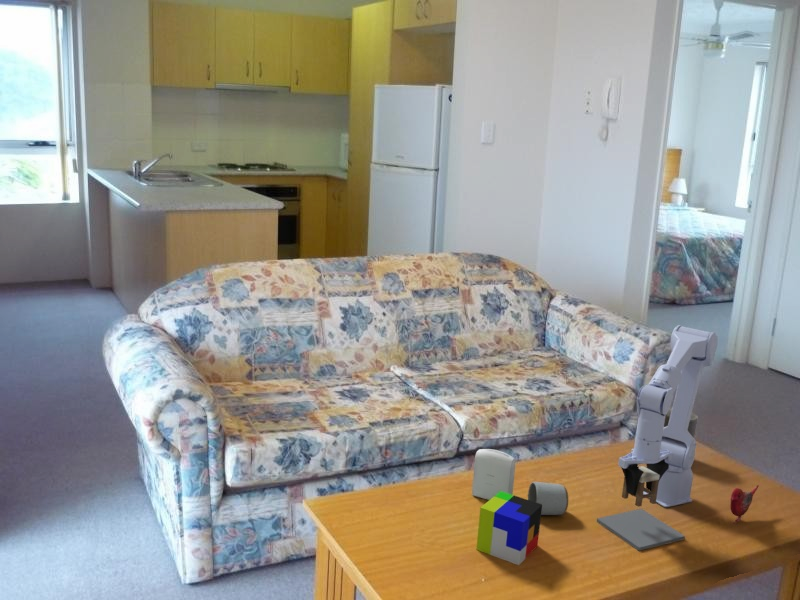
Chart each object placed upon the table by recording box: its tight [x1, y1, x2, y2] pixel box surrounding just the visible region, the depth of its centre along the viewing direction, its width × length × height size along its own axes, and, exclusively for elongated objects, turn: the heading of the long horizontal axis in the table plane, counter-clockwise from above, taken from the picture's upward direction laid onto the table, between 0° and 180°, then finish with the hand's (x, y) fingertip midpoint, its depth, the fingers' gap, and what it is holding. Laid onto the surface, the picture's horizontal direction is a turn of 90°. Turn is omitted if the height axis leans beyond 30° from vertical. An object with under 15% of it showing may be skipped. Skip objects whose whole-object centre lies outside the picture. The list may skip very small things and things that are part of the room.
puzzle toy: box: [475, 491, 542, 566], centre depth 180 cm, size 10×10×10 cm
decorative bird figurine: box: [729, 484, 759, 524], centre depth 200 cm, size 3×18×10 cm, turn 137°
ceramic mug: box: [527, 481, 569, 516], centre depth 198 cm, size 11×8×8 cm
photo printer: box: [471, 448, 516, 501], centre depth 202 cm, size 10×4×12 cm, turn 63°
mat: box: [596, 508, 686, 552], centre depth 192 cm, size 14×14×1 cm
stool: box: [621, 465, 660, 507], centre depth 192 cm, size 5×5×7 cm
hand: (640, 491), depth 192 cm, fingers closed on stool, 5 cm apart
